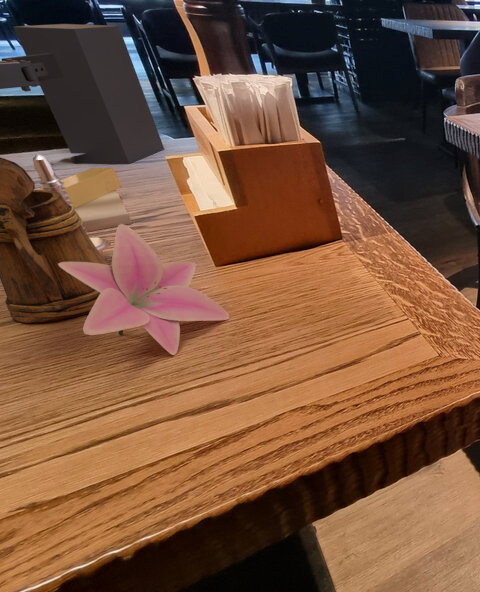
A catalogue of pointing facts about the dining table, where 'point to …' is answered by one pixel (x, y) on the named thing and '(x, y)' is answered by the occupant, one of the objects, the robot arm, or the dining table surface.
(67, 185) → the yellow bar
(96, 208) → the board
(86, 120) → the pedestal
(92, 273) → the lily
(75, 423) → the dining table surface
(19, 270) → the wooden mug
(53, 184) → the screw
